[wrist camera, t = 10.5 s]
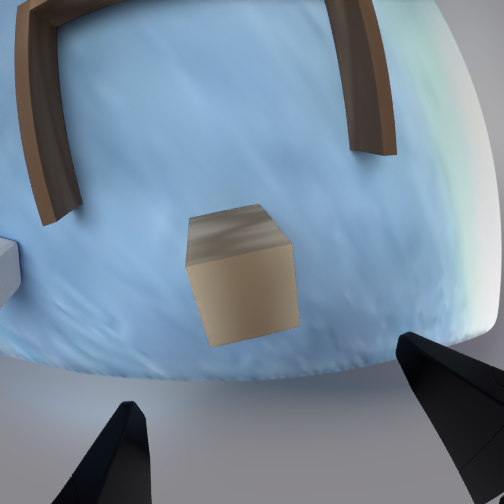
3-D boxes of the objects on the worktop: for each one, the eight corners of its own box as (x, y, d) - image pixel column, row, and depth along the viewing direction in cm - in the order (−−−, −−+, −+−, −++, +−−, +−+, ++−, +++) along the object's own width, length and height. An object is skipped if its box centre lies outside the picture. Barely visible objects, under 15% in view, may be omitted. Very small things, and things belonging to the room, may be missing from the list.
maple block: (258, 203, 18) (291, 243, 12) (268, 265, 20) (299, 326, 14) (189, 218, 18) (185, 267, 12) (204, 279, 20) (210, 347, 13)
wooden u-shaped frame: (329, -26, 12) (354, -49, 8) (362, 148, 18) (396, 154, 14) (44, 22, 10) (17, 6, 6) (70, 207, 16) (43, 226, 12)
